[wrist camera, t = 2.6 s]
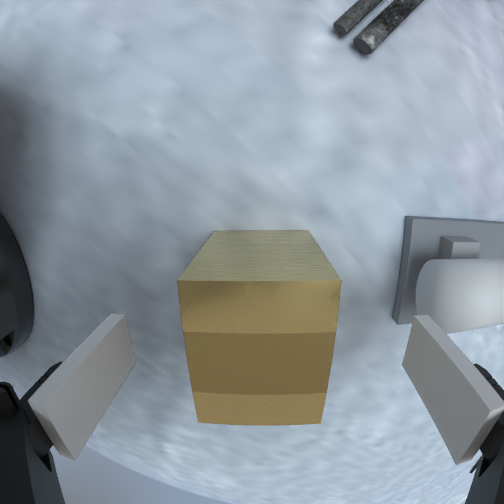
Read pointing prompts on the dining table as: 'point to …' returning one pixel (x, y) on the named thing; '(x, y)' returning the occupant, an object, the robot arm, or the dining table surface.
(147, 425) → the dining table surface
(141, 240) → the dining table surface
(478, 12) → the dining table surface
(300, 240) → the cardboard box
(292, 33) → the dining table surface
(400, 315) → the shaft bed
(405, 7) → the valve
